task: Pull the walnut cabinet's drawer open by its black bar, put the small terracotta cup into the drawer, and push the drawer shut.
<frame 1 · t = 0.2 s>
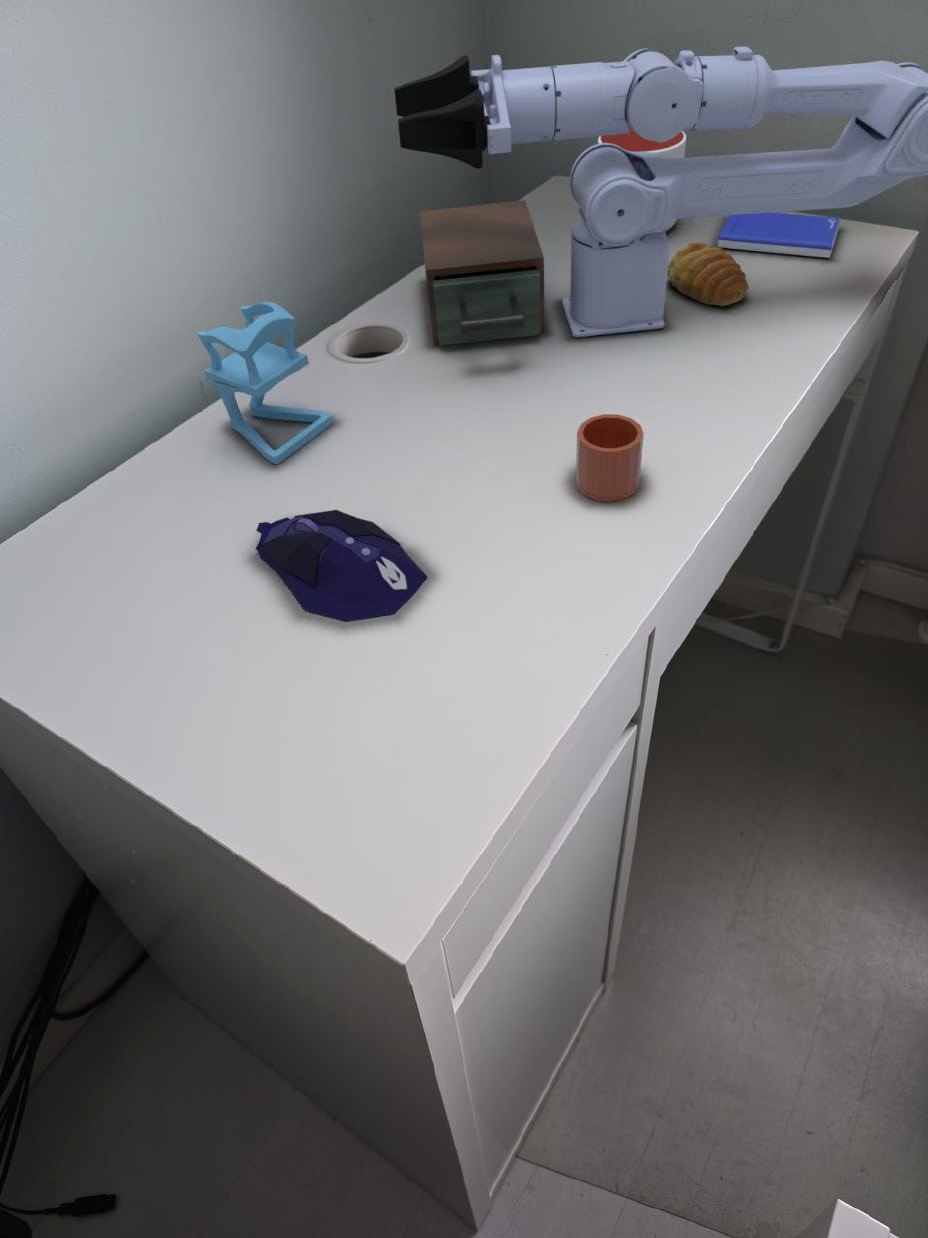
hand: (397, 117, 77), 21 cm above the table, tool horizontal, fingers open, 7 cm apart
pastry: (707, 289, 95), on the table
drawer: (484, 291, 89), point 4 cm above the table, slide at 0.5 cm
small cup: (607, 482, 73), on the table
computer mouse: (331, 570, 68), on the table
chair: (274, 432, 82), on the table
cabinet: (482, 307, 96), on the table
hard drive: (777, 240, 102), on the table
cup: (635, 226, 108), on the table
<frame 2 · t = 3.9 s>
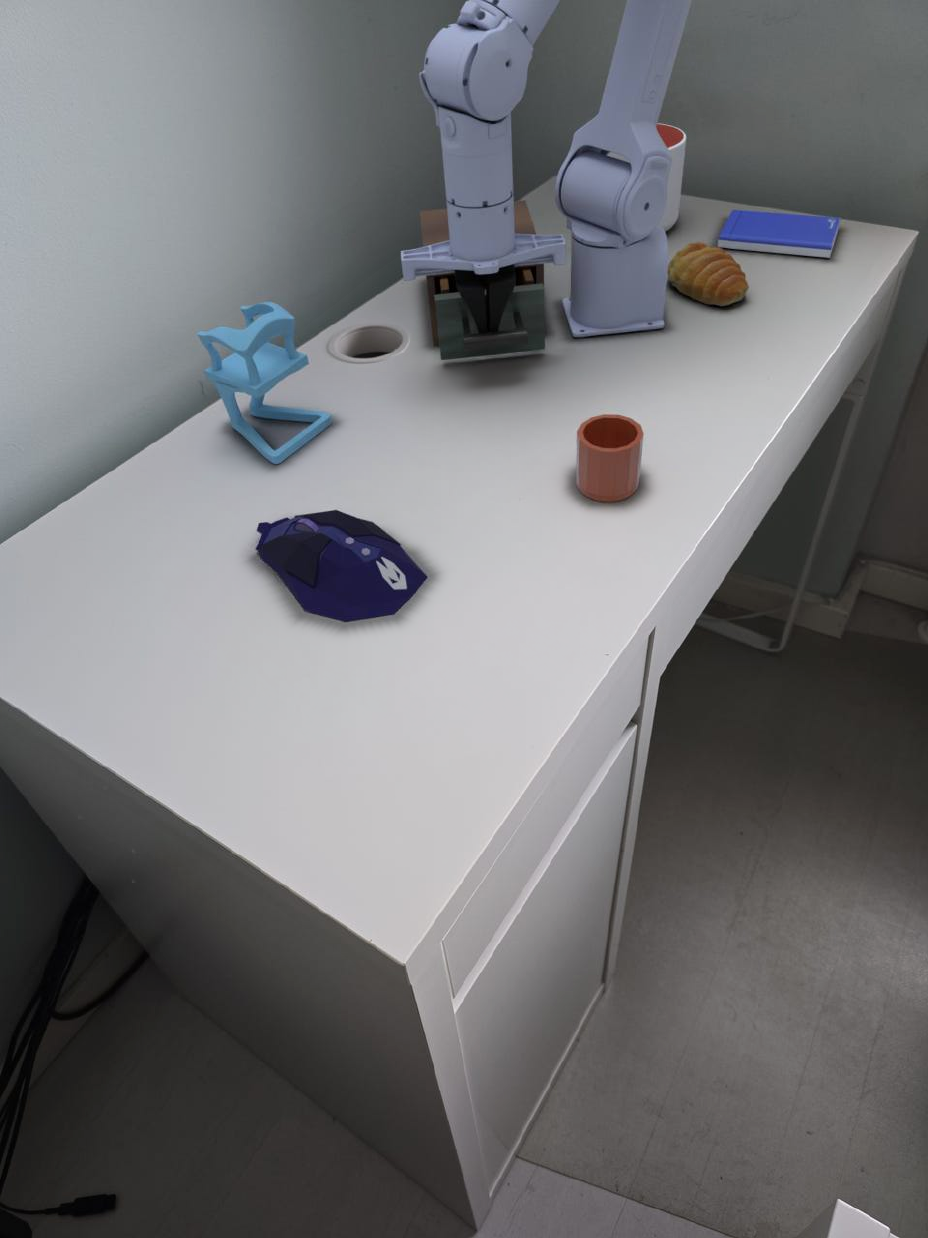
hand: (488, 342, 83), 3 cm above the table, tool pointing down, fingers closed, pressing on drawer
drawer: (487, 304, 87), point 4 cm above the table, slide at 3.5 cm, touching gripper
everything else where it was.
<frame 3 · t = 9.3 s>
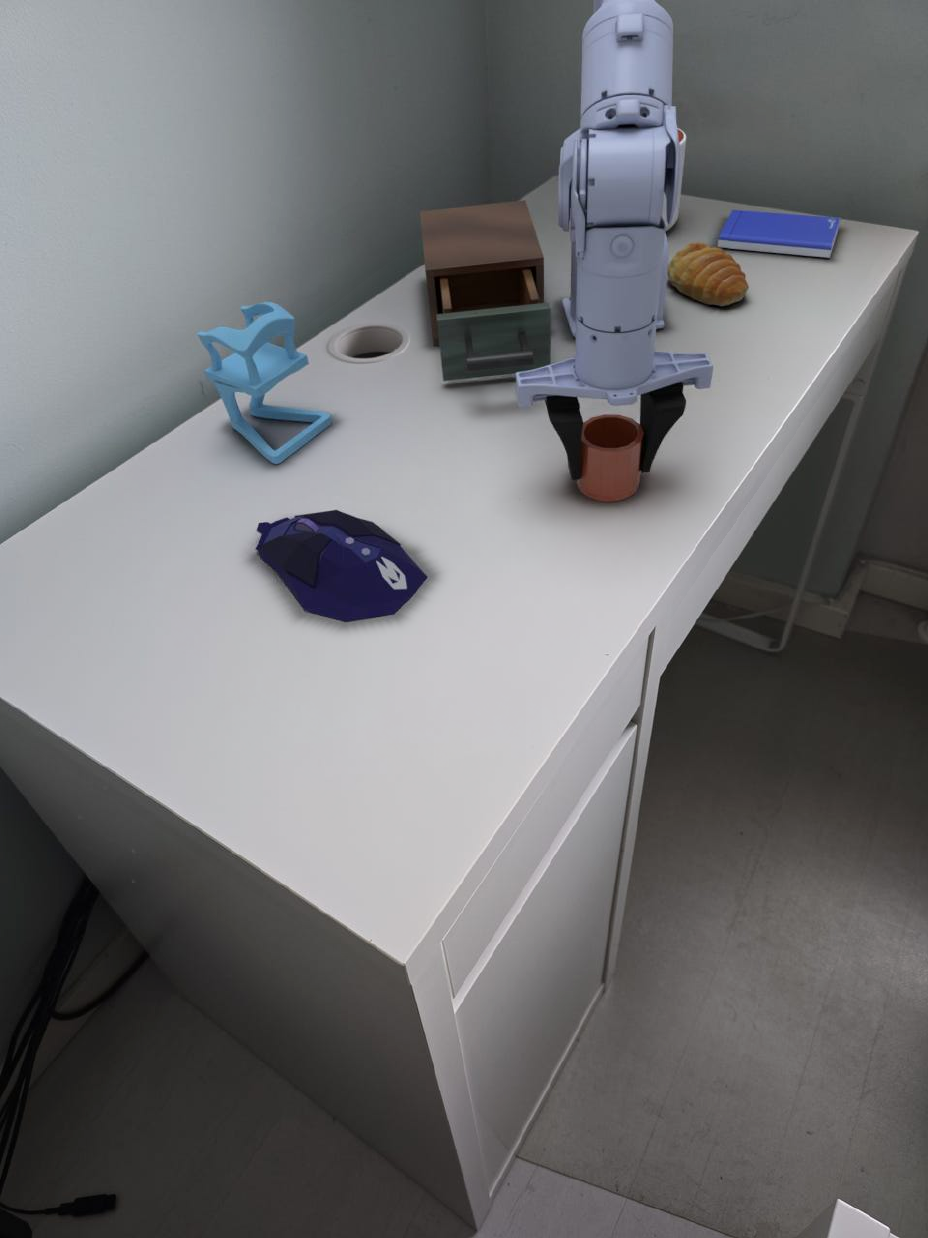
hand: (608, 469, 72), 1 cm above the table, tool pointing down, fingers closed on small cup, 5 cm apart
drawer: (491, 323, 85), point 4 cm above the table, slide at 7.4 cm
small cup: (607, 482, 73), on the table, touching gripper
everything else where it was.
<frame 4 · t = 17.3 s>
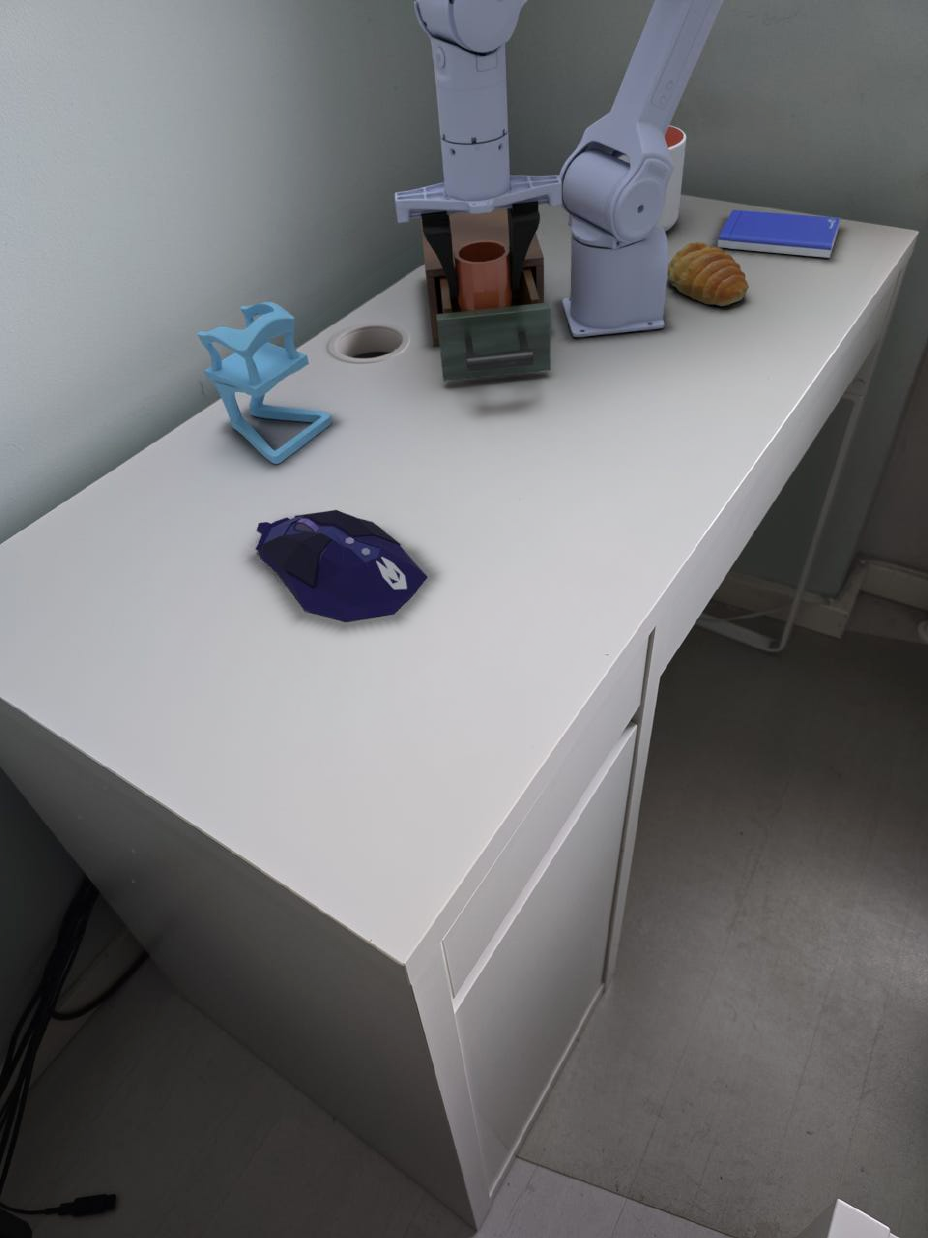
hand: (483, 289, 83), 7 cm above the table, tool pointing down, fingers closed on small cup, 5 cm apart
small cup: (485, 303, 84), point 6 cm above the table, touching gripper
everything else where it was.
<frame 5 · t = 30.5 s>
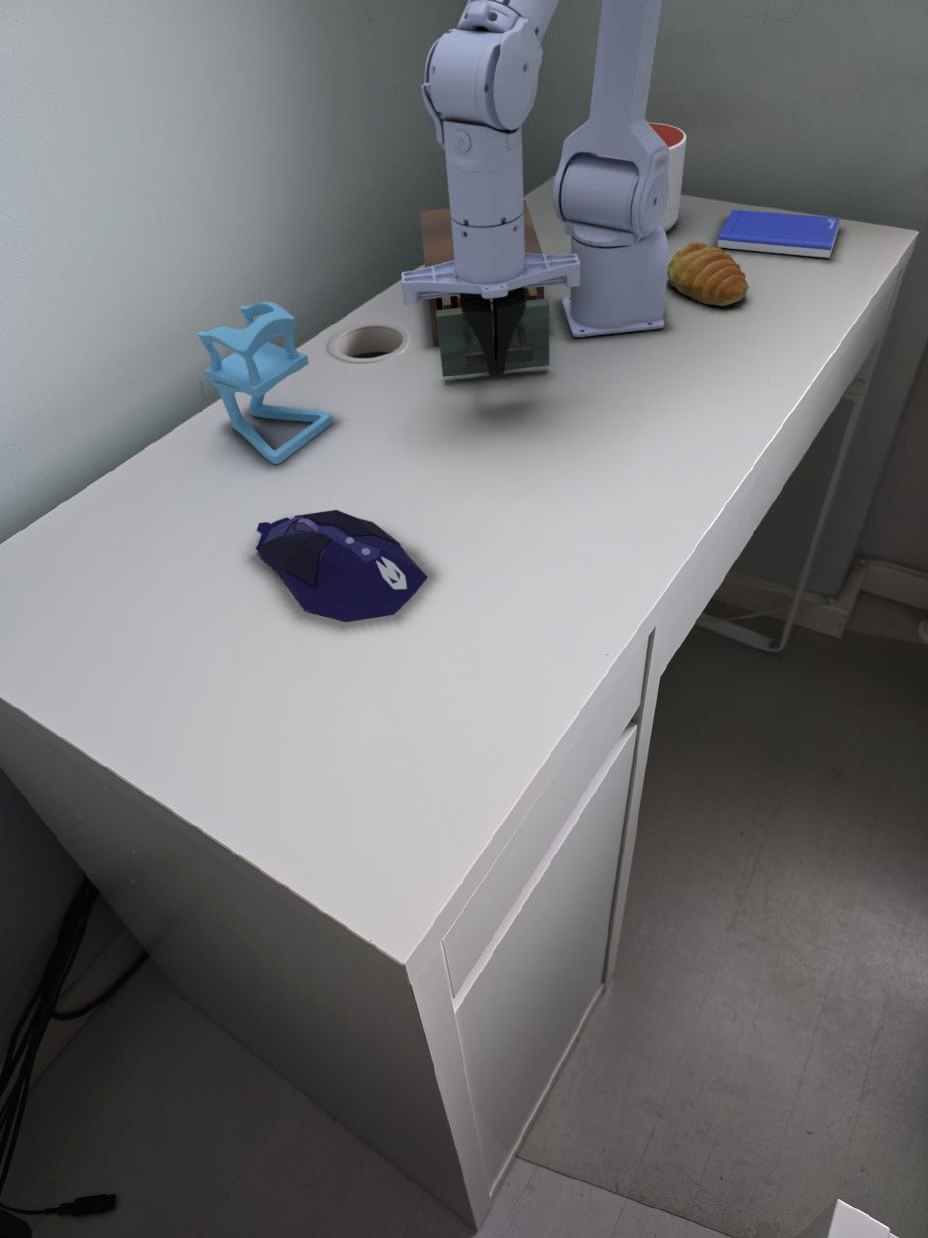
hand: (495, 368, 78), 5 cm above the table, tool pointing down, fingers closed, pressing on drawer
drawer: (490, 319, 85), point 4 cm above the table, slide at 6.6 cm, touching gripper, small cup
small cup: (485, 337, 87), point 2 cm above the table, touching drawer
everything else where it was.
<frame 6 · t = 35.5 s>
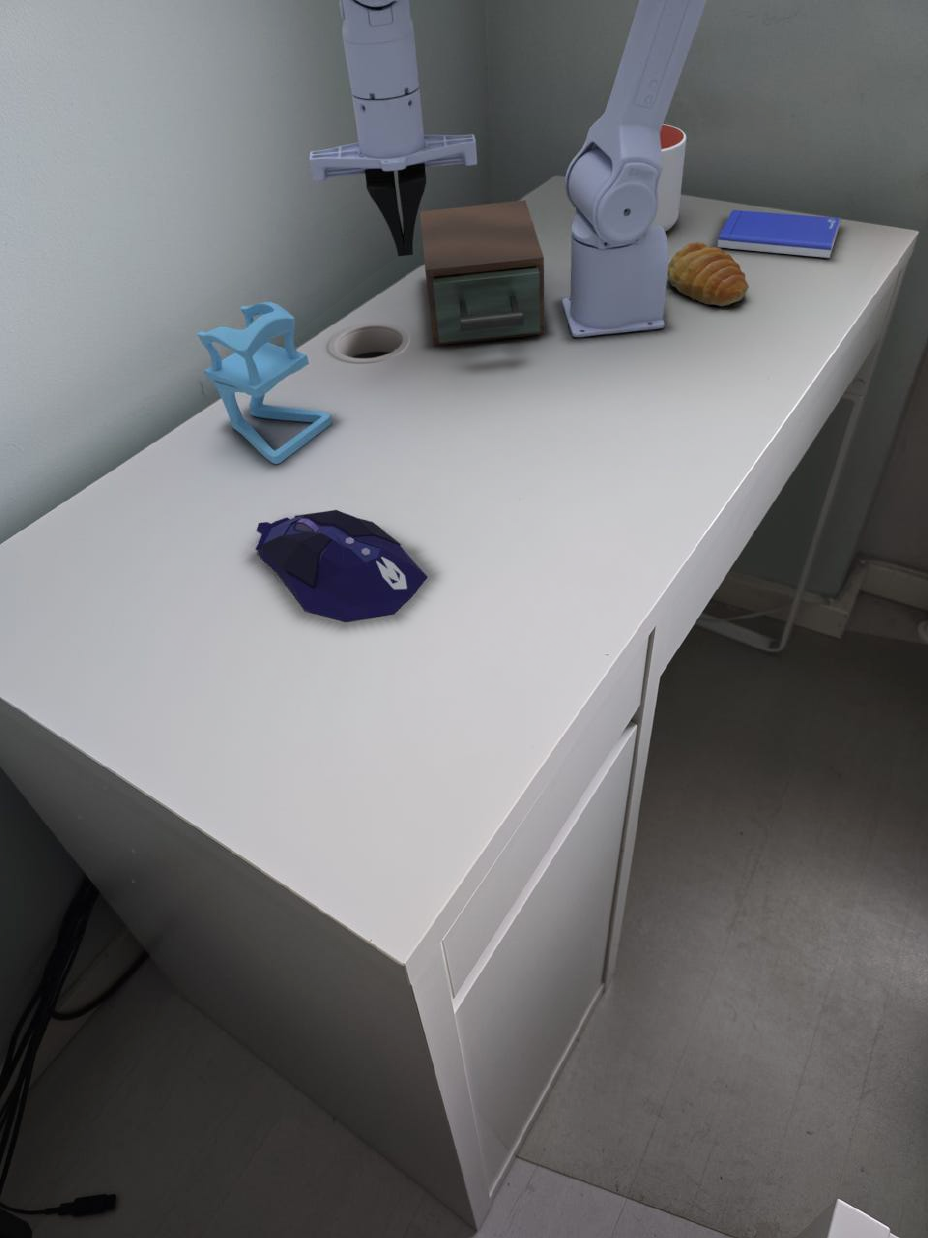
hand: (405, 251, 83), 10 cm above the table, tool pointing down, fingers closed
drawer: (484, 289, 90), point 4 cm above the table, slide at 0.0 cm, touching small cup
small cup: (479, 306, 92), point 2 cm above the table, touching drawer
everything else where it was.
at the end: drawer pulled out 7.4 cm at the most during the clip, back to where it started at the end; small cup inside the target area in the cabinet (3.8 cm from its centre), point 2.0 cm above the cabinet's base; drawer slide at 0.0 cm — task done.
